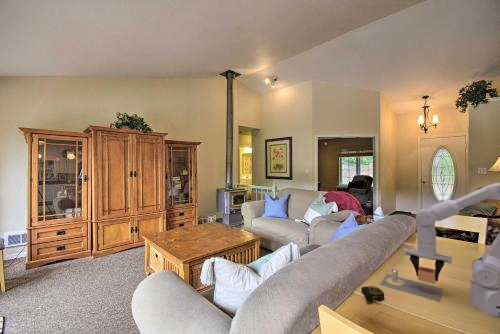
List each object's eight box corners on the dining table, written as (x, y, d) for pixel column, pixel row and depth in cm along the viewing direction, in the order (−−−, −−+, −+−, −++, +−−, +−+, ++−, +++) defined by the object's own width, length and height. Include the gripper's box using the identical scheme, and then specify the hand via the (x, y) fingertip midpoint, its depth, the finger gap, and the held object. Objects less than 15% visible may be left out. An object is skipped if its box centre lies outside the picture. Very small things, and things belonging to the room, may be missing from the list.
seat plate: (443, 291, 92) (442, 287, 92) (440, 305, 83) (439, 301, 83) (387, 276, 105) (387, 273, 105) (379, 287, 96) (379, 283, 96)
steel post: (399, 286, 96) (398, 271, 96) (393, 286, 97) (392, 271, 97) (396, 284, 99) (396, 269, 99) (390, 283, 99) (390, 269, 99)
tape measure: (360, 294, 92) (360, 284, 92) (380, 295, 90) (380, 285, 90) (366, 304, 85) (366, 294, 85) (387, 306, 84) (387, 295, 84)
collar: (436, 279, 91) (436, 269, 91) (434, 284, 87) (434, 274, 87) (420, 275, 94) (420, 266, 94) (418, 279, 90) (417, 270, 90)
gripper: (452, 242, 88) (453, 279, 89) (405, 235, 98) (406, 269, 98) (451, 247, 83) (452, 287, 83) (402, 239, 93) (403, 275, 93)
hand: (427, 277), depth 90 cm, fingers closed on collar, 5 cm apart
